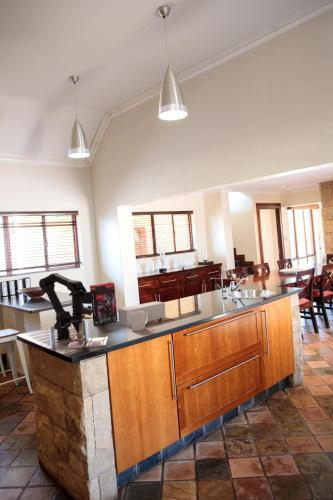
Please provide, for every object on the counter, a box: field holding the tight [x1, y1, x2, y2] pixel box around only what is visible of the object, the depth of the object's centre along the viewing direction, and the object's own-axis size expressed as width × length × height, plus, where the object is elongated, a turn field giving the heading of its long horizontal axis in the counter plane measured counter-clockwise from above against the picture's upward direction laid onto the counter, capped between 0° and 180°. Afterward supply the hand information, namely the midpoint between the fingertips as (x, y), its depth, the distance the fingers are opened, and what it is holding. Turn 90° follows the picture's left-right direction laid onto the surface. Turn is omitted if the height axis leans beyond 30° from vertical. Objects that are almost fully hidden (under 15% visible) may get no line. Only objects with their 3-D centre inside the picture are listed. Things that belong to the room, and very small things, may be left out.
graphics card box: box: [89, 281, 119, 327], centre depth 257 cm, size 17×7×27 cm, turn 137°
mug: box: [130, 311, 149, 333], centre depth 233 cm, size 12×9×11 cm
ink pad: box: [67, 340, 86, 349], centre depth 205 cm, size 8×9×2 cm
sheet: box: [84, 336, 109, 348], centre depth 210 cm, size 11×18×1 cm, turn 4°
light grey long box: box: [117, 300, 167, 327], centre depth 258 cm, size 32×11×11 cm, turn 129°
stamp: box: [74, 321, 86, 341], centre depth 216 cm, size 5×5×10 cm
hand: (79, 330), depth 216 cm, fingers open, 9 cm apart
